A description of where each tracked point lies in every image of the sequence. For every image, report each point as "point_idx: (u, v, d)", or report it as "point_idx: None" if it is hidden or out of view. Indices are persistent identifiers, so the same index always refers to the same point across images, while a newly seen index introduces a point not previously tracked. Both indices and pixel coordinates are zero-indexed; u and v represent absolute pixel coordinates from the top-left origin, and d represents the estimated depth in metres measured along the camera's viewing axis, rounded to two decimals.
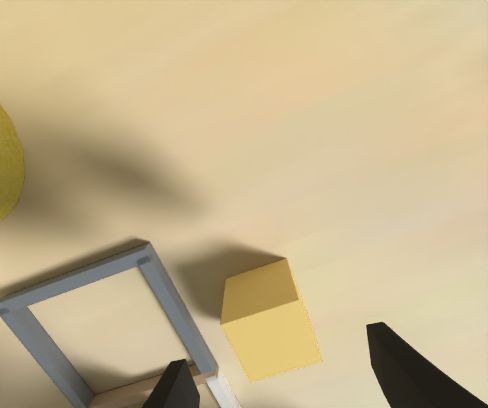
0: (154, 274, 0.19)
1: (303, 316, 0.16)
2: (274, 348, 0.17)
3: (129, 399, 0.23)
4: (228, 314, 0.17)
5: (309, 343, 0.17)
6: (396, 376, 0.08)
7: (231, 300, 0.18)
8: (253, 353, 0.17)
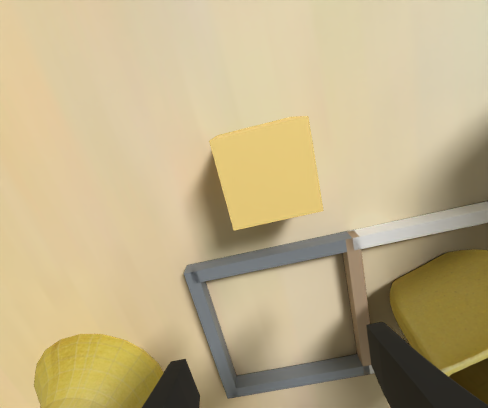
0: (211, 270, 0.20)
1: (233, 137, 0.13)
2: (276, 176, 0.14)
3: (362, 327, 0.21)
4: None
5: (275, 132, 0.13)
6: (395, 376, 0.08)
7: None
8: (280, 200, 0.14)
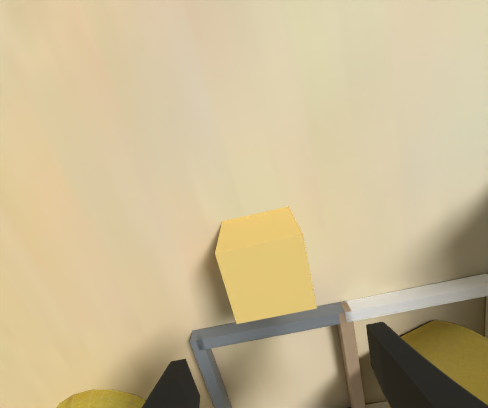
0: (215, 339, 0.22)
1: (237, 250, 0.15)
2: (274, 281, 0.16)
3: (355, 387, 0.23)
4: None
5: (274, 246, 0.15)
6: (396, 376, 0.08)
7: None
8: (278, 300, 0.16)
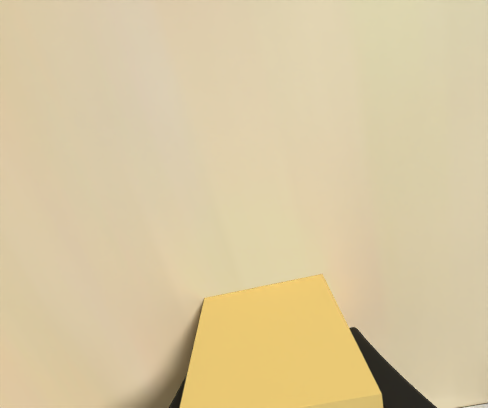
0: None
1: None
2: None
3: None
4: None
5: None
6: None
7: None
8: None
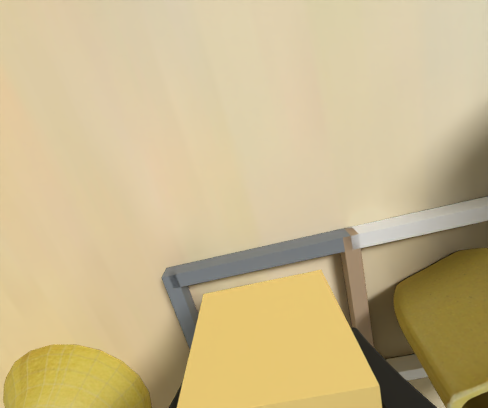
0: (192, 274, 0.18)
1: None
2: None
3: (363, 335, 0.19)
4: None
5: None
6: None
7: None
8: None
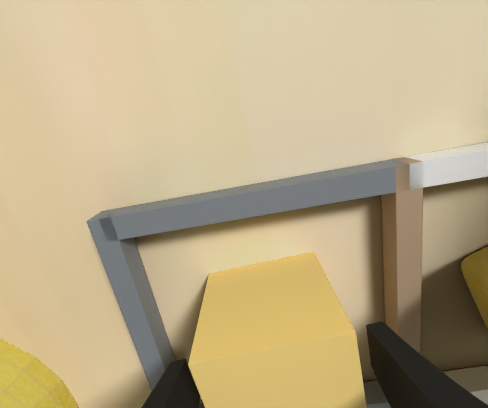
0: (139, 218, 0.11)
1: (229, 360, 0.08)
2: None
3: (406, 336, 0.12)
4: None
5: (299, 353, 0.08)
6: (396, 376, 0.08)
7: None
8: None
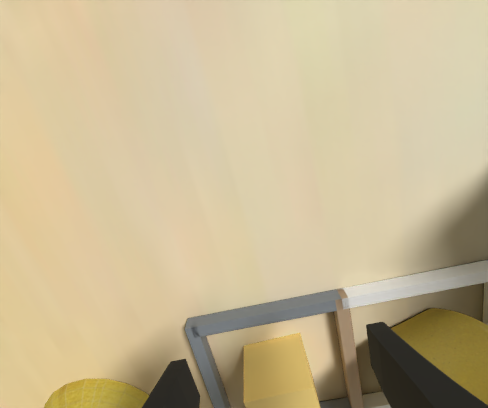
0: (210, 326, 0.21)
1: (261, 400, 0.19)
2: None
3: (351, 376, 0.23)
4: None
5: (291, 396, 0.19)
6: (395, 376, 0.08)
7: None
8: None
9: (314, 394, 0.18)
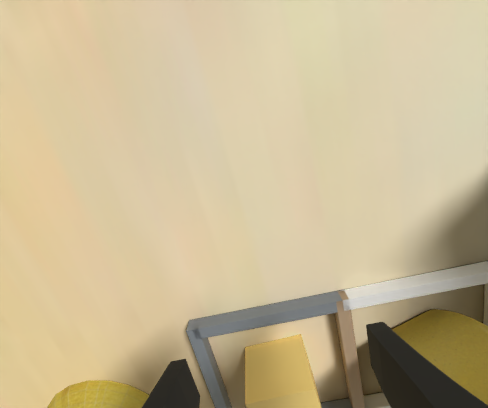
0: (212, 328, 0.21)
1: (262, 401, 0.19)
2: None
3: (352, 377, 0.23)
4: None
5: (292, 398, 0.19)
6: (395, 376, 0.08)
7: None
8: None
9: (315, 395, 0.19)
